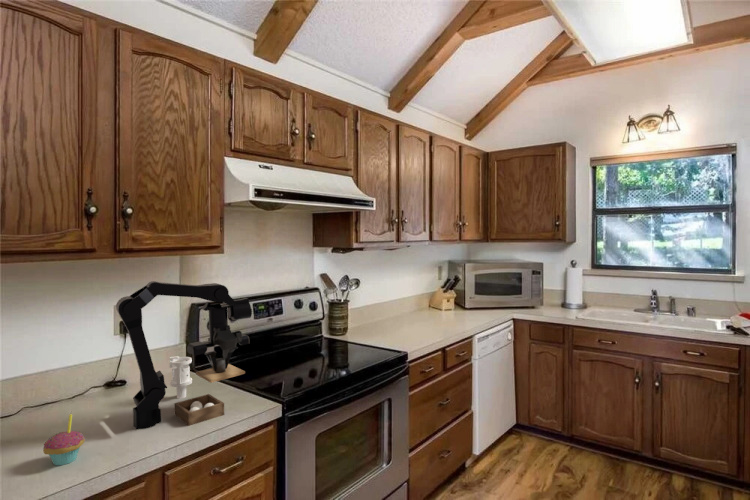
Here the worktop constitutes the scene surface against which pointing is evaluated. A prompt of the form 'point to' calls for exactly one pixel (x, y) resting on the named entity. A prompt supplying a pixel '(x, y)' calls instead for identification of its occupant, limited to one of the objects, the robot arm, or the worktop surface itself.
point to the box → (199, 410)
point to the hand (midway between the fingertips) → (220, 369)
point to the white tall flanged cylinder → (180, 374)
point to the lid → (220, 372)
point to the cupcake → (64, 445)
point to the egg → (196, 405)
